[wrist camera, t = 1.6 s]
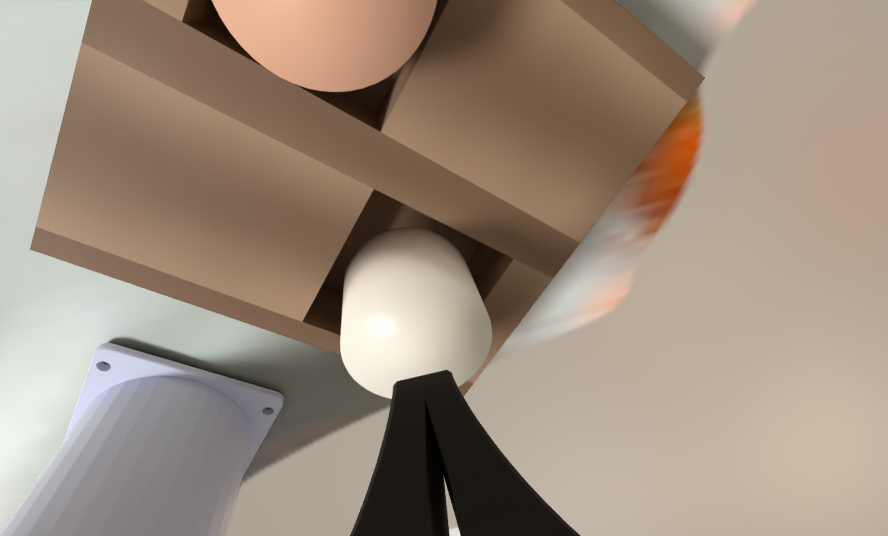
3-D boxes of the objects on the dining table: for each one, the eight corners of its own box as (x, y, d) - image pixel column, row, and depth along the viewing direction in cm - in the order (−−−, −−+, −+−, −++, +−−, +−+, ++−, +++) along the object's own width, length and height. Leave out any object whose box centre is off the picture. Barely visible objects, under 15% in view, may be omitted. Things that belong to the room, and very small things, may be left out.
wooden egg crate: (447, 337, 22) (463, 396, 19) (99, 200, 17) (29, 249, 13) (636, 65, 17) (704, 77, 14) (235, -255, 12) (183, -368, 8)
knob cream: (429, 349, 18) (443, 416, 15) (322, 309, 16) (314, 374, 13) (491, 259, 16) (520, 313, 13) (380, 205, 15) (385, 253, 12)
